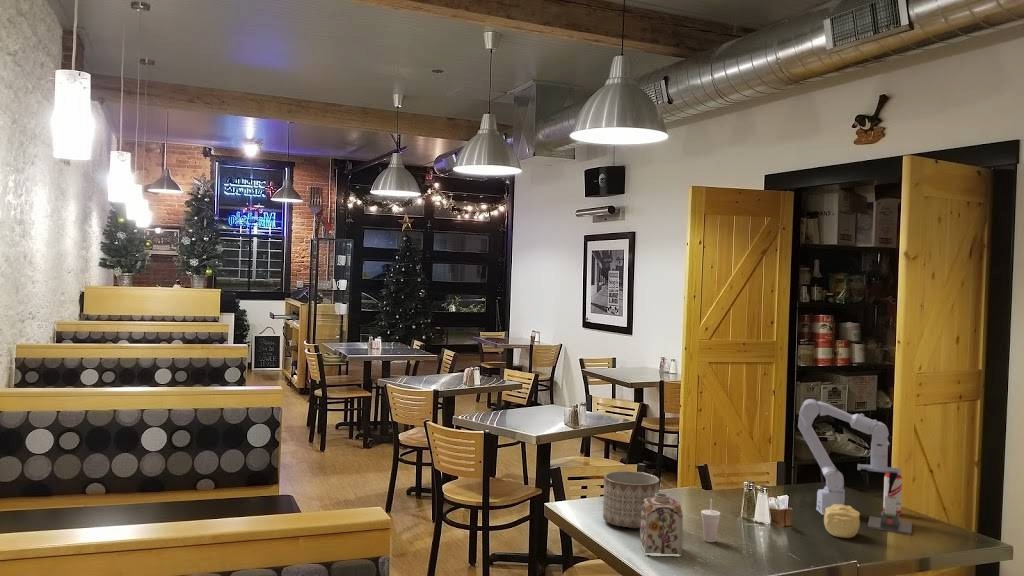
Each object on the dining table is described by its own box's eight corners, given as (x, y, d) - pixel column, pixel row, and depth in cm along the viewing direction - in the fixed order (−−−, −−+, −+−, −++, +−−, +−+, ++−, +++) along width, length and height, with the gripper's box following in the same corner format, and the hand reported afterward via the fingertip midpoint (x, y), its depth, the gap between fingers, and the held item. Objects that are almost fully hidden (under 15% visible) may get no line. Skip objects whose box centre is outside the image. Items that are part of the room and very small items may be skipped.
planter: (655, 535, 260) (656, 486, 260) (598, 528, 266) (600, 481, 265) (660, 519, 279) (661, 473, 279) (607, 513, 284) (608, 468, 284)
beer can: (904, 516, 292) (905, 474, 292) (887, 515, 292) (888, 474, 292) (896, 511, 298) (897, 470, 298) (879, 511, 298) (881, 470, 298)
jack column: (884, 516, 278) (884, 497, 278) (884, 514, 281) (885, 495, 281) (895, 518, 276) (896, 499, 276) (896, 515, 279) (896, 497, 279)
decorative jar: (639, 543, 251) (641, 489, 251) (675, 545, 251) (677, 490, 251) (644, 556, 239) (646, 499, 239) (682, 558, 239) (684, 500, 239)
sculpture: (824, 537, 263) (825, 506, 263) (822, 528, 275) (823, 497, 275) (860, 542, 259) (861, 510, 259) (857, 532, 271) (858, 502, 271)
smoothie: (720, 539, 258) (721, 498, 258) (719, 545, 252) (720, 503, 252) (700, 537, 260) (702, 495, 260) (699, 542, 254) (700, 500, 254)
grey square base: (867, 528, 276) (867, 515, 276) (869, 518, 288) (870, 506, 288) (911, 535, 269) (911, 522, 269) (911, 524, 282) (912, 512, 282)
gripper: (857, 454, 288) (856, 490, 287) (900, 459, 281) (899, 496, 281) (858, 451, 294) (857, 486, 294) (900, 456, 287) (900, 492, 287)
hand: (878, 491), depth 288 cm, fingers open, 7 cm apart
